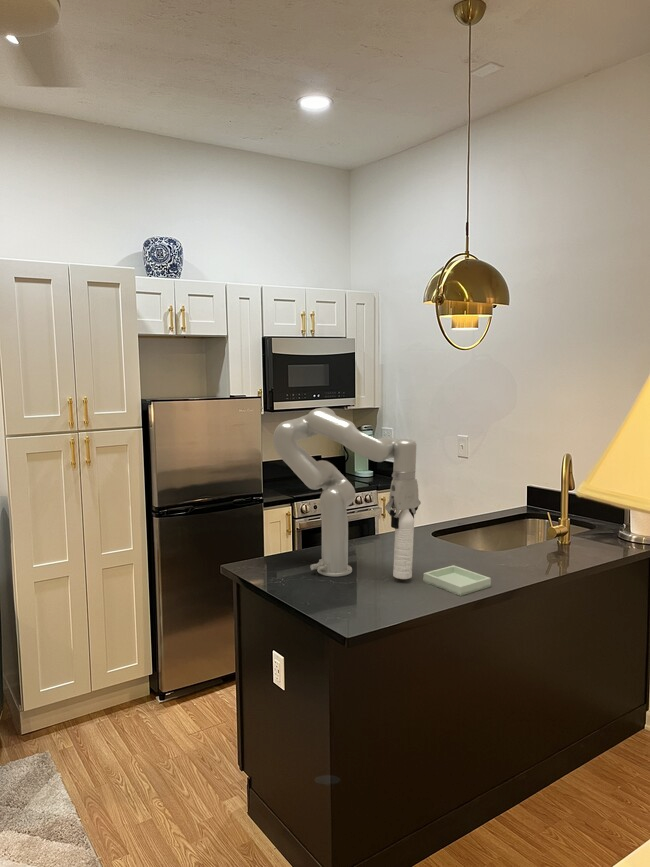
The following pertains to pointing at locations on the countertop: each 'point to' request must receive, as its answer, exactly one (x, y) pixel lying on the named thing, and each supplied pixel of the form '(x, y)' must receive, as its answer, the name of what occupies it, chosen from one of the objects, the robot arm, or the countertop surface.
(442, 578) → the tray
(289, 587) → the countertop surface
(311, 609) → the countertop surface
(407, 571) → the water bottle
